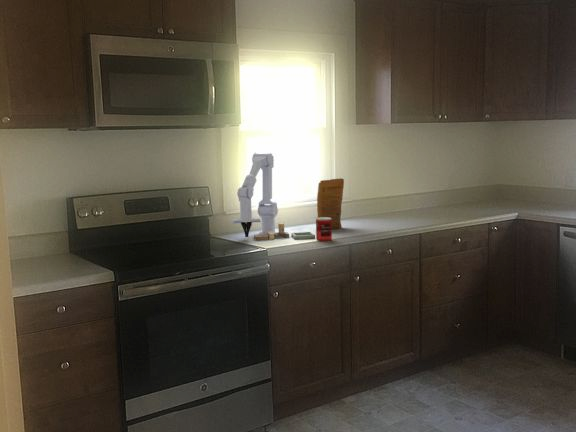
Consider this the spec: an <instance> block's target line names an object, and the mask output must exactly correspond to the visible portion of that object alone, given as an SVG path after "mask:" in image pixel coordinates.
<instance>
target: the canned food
mask: <svg viewBox="0 0 576 432" xmlns="http://www.w3.org/2000/svg"><path fill="white" fill-rule="evenodd" d="M315 229H316V230H315V234H316V235H315V239H316V241H318V242H330V241H332V239H333V231H332V230H333V229H332V219H331V218H329V217H320V218H317V217H316V218H315Z"/></svg>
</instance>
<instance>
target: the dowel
mask: <svg viewBox="0 0 576 432" xmlns="http://www.w3.org/2000/svg"><path fill="white" fill-rule="evenodd" d="M277 225H278V228H277V229H278V232H279V234H284V232H285V223H282V222H281V223H278V224H277Z"/></svg>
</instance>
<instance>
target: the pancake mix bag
mask: <svg viewBox="0 0 576 432" xmlns="http://www.w3.org/2000/svg"><path fill="white" fill-rule="evenodd" d="M344 183H345V179H344V178H333V179H331V178H330V179H322V180H319V182H318V186H317V193H316V194H317V197H316V207H317V208H316V211H317V214H316V215H317V217H316V218H320V217H329V218H331V219H332V230H335V229H336V228H338V229H341V228H342V222H341V221H342V220H341V218H342V202H343V196H344V195H343V193H344V189H345V188H344V187H345V185H344Z"/></svg>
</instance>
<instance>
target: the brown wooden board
mask: <svg viewBox="0 0 576 432" xmlns="http://www.w3.org/2000/svg"><path fill="white" fill-rule="evenodd" d="M253 239H254V240H255V241H256V242H257V241H268V234H261V233H254V234H253Z"/></svg>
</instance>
